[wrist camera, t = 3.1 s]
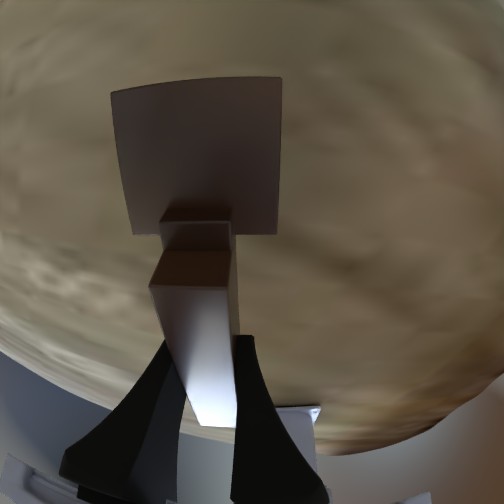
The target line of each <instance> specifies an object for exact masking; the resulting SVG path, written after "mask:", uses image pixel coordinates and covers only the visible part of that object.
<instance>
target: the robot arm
mask: <svg viewBox="0 0 504 504" xmlns="http://www.w3.org/2000/svg"><path fill="white" fill-rule="evenodd" d="M235 368H236V387H237V414H236V430H235V444H234V458H233V472H232V483H231V495H230V499H231V500H232V501H233V502H234V504H333V500H332V492H331V489H329V488H327V486H324V484H323V482H322V480H321V479H320V477H319V476H318V474H317V463H316V451H315V440H314V430H313V424H314V422H315V420H316V418H317V416H318V414H319V412H320V410H321V407H320V406H305V407H286V408H275V407H274V404H273V402H272V400H271V397H270V395H269V393H268V390H267V388H266V385H265V382H264V379H263V376H262V373H261V370H260V367H259V363H258V359H257V355H256V350H255V343H254V336H252V335H237V343H236V354H235ZM185 400H186V392H185V390H184V388H183V385H182V383H181V380H180V378H179V375H178V373H177V370H176V367H175V365H174V362H173V360H172V357H171V354H170V351H169V349H168V346H167V343H166V340H165V339H164V341H163V343H162V345H161V346H160V348H159V350H158V351H157V353H156V354H155V356H154V358H153V359H152V361H151V362H150V364H149V365H148V367H147V368H146V370H145V371H144V373H143V374H142V376H141V377H140V378H139V380H138V381H137V382H136V384H135V385H134V386H133V388H132V389H131V390H130V392H129V393H128V394H127V395H126V397H125V398H124V399H123V400H122V401H121V402H120V403H119V405H118V406H117V407H116V408H115V409H114V410H113V411H112V412H111V413H110V414H109V415H108V416H107V417H106V418H105V419H104V420H103V421H102V422H101V423H100V424H99V425H97V426H96V427H95V428H94V429H93V430H92V431H90V432H89V433H88V434H87V435H86V436H84V437H83V438H82V439H80V440H79V441H77V442H76V443H75V444H73V445H72V446H70V447H69V448H67V449H66V450H65V453H64V455H63V458H62V462H61V466H60V470H59V475H60V476H61V477H63V478H65V479H67V480H70V481H72V482H74V483H76V484H79V487H78V489H76V488H74V487H71V486H69V485H67V484H64V483H62V482H60V481H58V480H56V479H54V478H51V477H50V476H49V475H47V474H45V473H43V472H41V471H39V470H37V469H35V468H33V467H31V466H29V465H28V464H26V463H24V462H22V461H21V460H19V459H17V458H16V457H14V456H12V455H11V454H9V453H8V454H7V456H6V459H5V463H4V466H3V471H2V474H1V478H0V492H1V493H3V494H4V495H5V496H7V497H8V498H9V499H11V500H12V501H13V502H15V503H16V504H176V503H177V483H176V482H177V480H176V479H177V453H178V439H179V430H180V424H181V419H182V414H183V409H184V405H185ZM392 504H432V502H431V496H430V492H429V491H427V492H425V493H422V494H419V495H417V496H414V497H411V498H408V499H405V500H401V501H398V502H395V503H392Z"/></svg>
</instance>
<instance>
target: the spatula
mask: <svg viewBox="0 0 504 504" xmlns="http://www.w3.org/2000/svg"><path fill="white" fill-rule="evenodd" d="M110 95H111V106H112V116H113V125H114V133H115V141H116V148H117V155H118V161H119V167H120V173H121V179H122V184H123V190H124V195H125V200H126V205H127V210H128V214H129V219H130V223H131V228H132V232H133V235H161V240H162V245H163V250H164V251H163V253H162V256H161V258H160V260H159V262H158V265H157V267H156V269H155V271H154V274H153V276H152V278H151V281H150V283H149V286H148V287H149V291H150V294H151V298H152V301H153V304H154V307H155V310H156V314H157V317H158V320H159V323H160V326H161V329H162V332H163V335H164V337H165V340H166V343H167V346H168V349H169V351H170V354H171V357H172V360H173V362H174V365H175V367H176V370H177V373H178V375H179V378H180V380H181V383H182V385H183V388H184V390H185V392H186V395H187V397H188V400H189V402H190V404H191V407H192V409H193V411H194V413H195V416H196V418H197V420H198V422H199V424H200V425H204V426H219V427H236V414H237V387H236V368H235V354H236V343H237V335H240V324H239V304H238V282H237V259H236V235H276V234H277V226H278V205H279V180H280V152H281V115H282V78H281V77H217V78H202V79H190V80H181V81H172V82H164V83H157V84H151V85H144V86H139V87H133V88H128V89H123V90H118V91H113V92H111V94H110Z"/></svg>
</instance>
